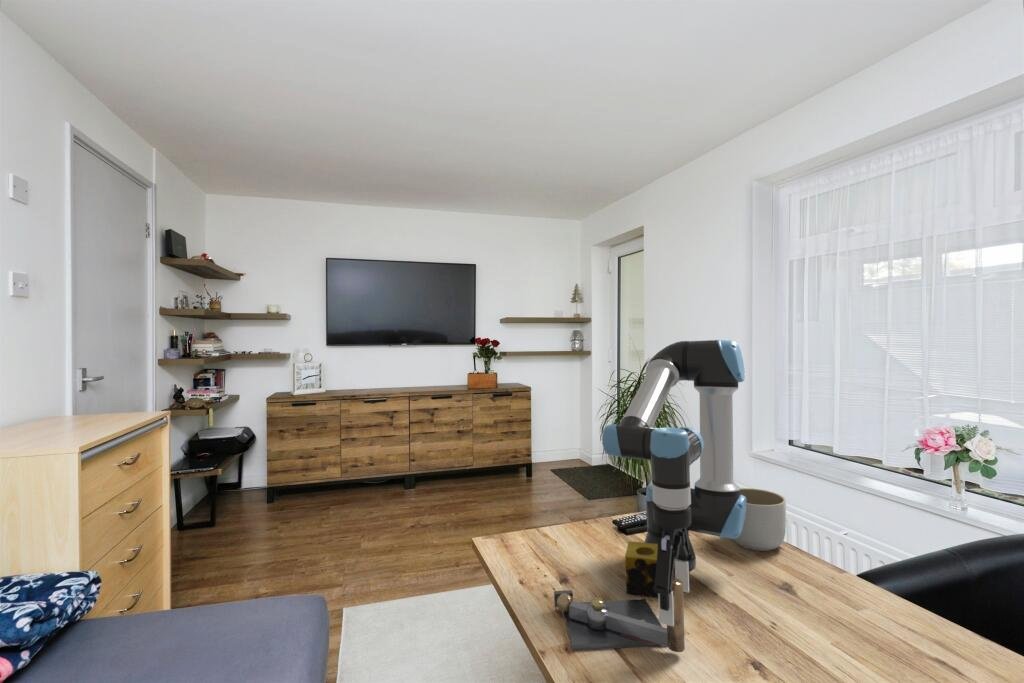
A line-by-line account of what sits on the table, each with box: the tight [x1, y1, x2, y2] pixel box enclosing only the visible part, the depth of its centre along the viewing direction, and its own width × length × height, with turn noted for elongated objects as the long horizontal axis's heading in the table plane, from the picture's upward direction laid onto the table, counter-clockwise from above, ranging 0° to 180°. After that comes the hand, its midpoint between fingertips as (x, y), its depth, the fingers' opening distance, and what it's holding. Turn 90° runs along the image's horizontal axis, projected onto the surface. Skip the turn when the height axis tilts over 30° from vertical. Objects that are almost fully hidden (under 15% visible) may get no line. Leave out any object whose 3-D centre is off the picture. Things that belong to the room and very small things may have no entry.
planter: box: [732, 487, 787, 552], centre depth 148 cm, size 17×17×15 cm
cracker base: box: [553, 589, 664, 652], centre depth 107 cm, size 23×17×7 cm
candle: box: [624, 541, 658, 599], centre depth 124 cm, size 10×10×10 cm
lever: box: [569, 577, 686, 653], centre depth 103 cm, size 25×5×13 cm, turn 58°
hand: (675, 606), depth 98 cm, fingers open, 13 cm apart
